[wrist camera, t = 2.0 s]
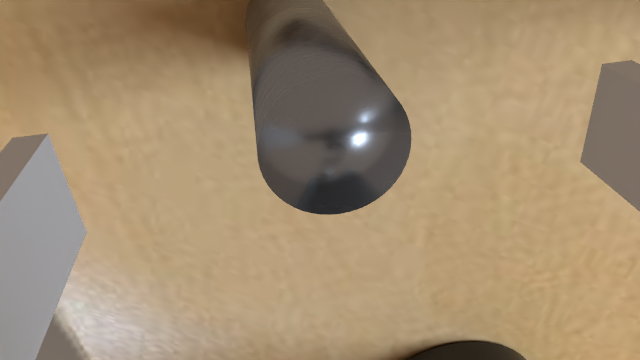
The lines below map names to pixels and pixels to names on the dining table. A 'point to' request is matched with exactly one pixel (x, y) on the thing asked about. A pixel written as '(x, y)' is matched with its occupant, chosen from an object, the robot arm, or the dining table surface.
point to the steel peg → (320, 110)
